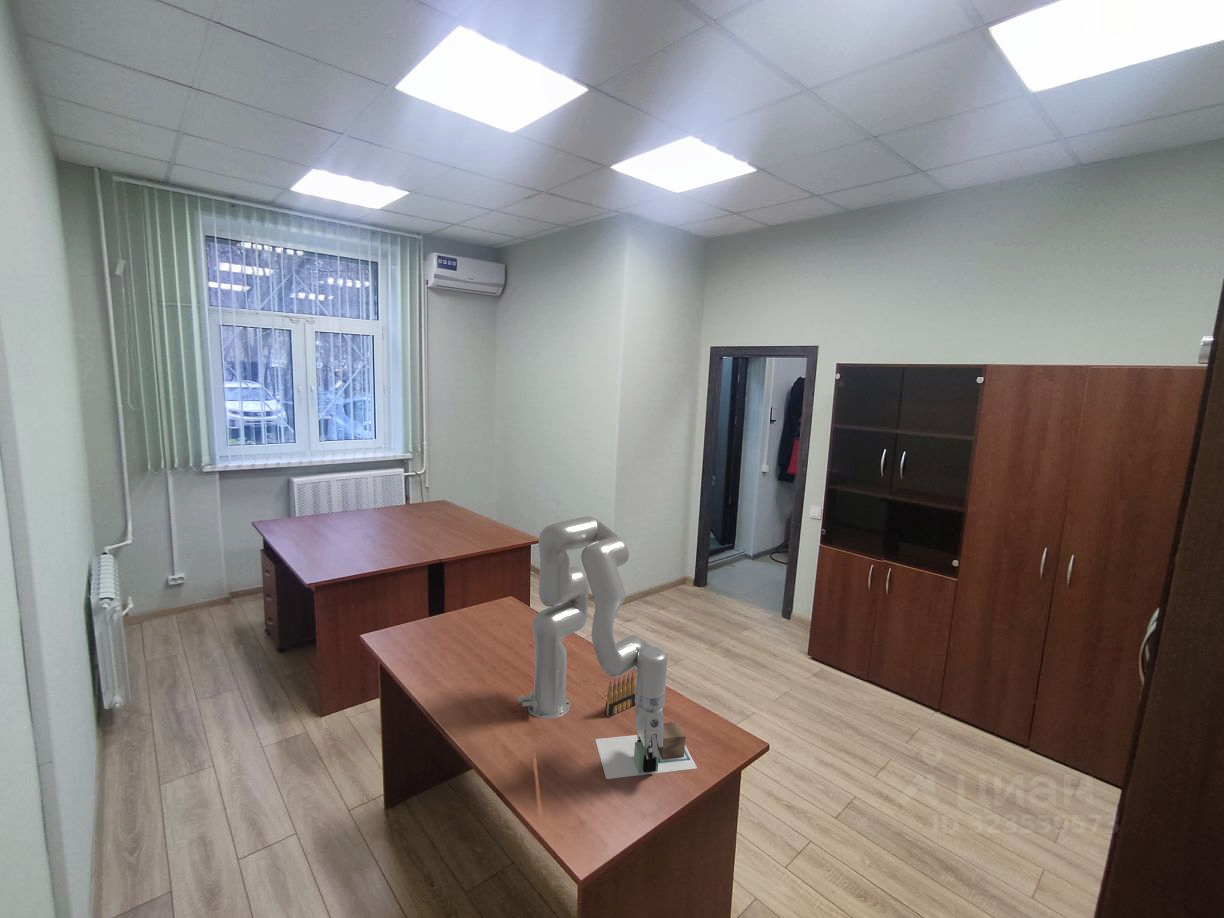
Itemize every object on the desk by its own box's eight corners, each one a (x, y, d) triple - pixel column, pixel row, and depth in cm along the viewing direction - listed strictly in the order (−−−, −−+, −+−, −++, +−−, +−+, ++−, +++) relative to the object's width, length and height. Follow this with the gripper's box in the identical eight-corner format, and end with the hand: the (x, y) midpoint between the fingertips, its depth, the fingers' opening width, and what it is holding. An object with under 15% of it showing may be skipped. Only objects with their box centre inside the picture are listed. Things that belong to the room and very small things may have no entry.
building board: (606, 782, 131) (606, 778, 131) (595, 742, 146) (595, 738, 145) (697, 771, 136) (697, 767, 136) (677, 734, 151) (677, 730, 151)
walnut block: (662, 759, 139) (663, 738, 138) (655, 744, 144) (656, 724, 144) (683, 756, 140) (685, 736, 139) (676, 741, 146) (677, 721, 145)
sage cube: (638, 773, 133) (639, 755, 133) (633, 759, 138) (634, 742, 137) (657, 771, 134) (658, 753, 134) (652, 757, 139) (653, 740, 138)
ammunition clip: (608, 720, 155) (610, 682, 154) (604, 717, 157) (606, 680, 155) (635, 708, 162) (637, 671, 160) (631, 705, 163) (633, 669, 162)
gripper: (675, 716, 126) (670, 785, 129) (654, 677, 143) (650, 738, 145) (644, 719, 124) (640, 788, 127) (627, 679, 141) (623, 741, 144)
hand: (645, 761), depth 136 cm, fingers open, 5 cm apart
